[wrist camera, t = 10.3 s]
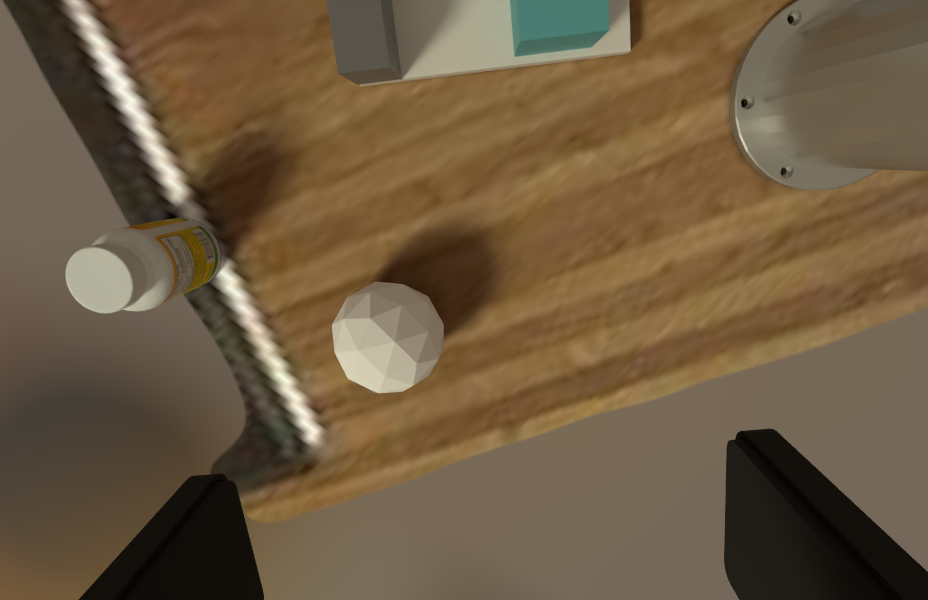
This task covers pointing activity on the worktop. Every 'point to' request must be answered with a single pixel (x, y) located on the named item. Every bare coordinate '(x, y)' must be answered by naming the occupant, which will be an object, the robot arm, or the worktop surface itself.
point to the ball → (387, 337)
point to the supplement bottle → (143, 265)
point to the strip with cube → (443, 39)
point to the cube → (557, 25)
